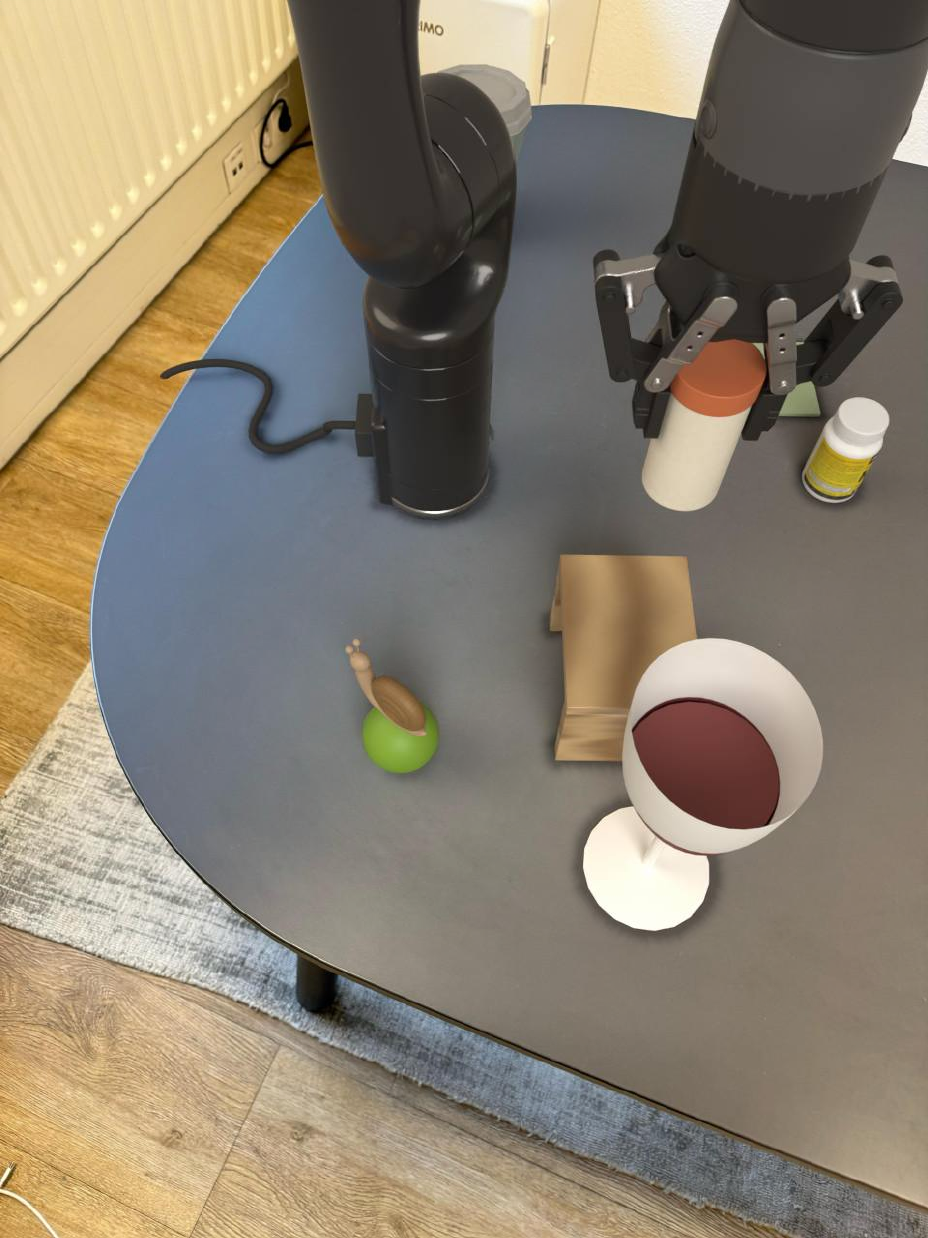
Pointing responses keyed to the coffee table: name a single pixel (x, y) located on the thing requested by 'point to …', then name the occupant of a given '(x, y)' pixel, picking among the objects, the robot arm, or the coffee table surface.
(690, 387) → the spice bottle
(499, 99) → the disposable coffee cup
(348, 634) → the coffee table surface
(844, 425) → the supplement bottle
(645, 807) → the wineglass
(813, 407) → the mat
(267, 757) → the coffee table surface
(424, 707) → the snail figurine
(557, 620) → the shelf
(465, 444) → the robot arm
